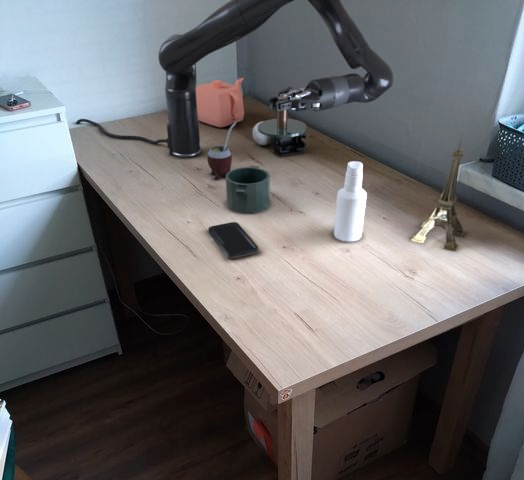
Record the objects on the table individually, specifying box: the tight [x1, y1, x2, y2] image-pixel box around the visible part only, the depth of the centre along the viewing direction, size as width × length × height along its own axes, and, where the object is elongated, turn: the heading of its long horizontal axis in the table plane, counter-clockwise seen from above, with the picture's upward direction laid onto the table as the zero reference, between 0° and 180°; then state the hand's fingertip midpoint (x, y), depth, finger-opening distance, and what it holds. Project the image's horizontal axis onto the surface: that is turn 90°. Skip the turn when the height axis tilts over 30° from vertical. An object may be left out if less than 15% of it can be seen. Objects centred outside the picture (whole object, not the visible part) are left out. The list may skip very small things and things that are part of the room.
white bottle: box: [333, 160, 368, 243], centre depth 129 cm, size 7×7×18 cm
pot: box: [225, 165, 271, 215], centre depth 146 cm, size 11×17×8 cm
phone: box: [208, 221, 259, 260], centre depth 132 cm, size 8×1×15 cm
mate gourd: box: [207, 121, 238, 181], centre depth 158 cm, size 8×8×15 cm
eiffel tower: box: [410, 132, 467, 252], centre depth 126 cm, size 11×11×25 cm
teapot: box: [196, 77, 245, 128], centre depth 197 cm, size 20×19×14 cm
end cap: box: [270, 132, 307, 157], centre depth 175 cm, size 10×7×7 cm
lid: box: [258, 96, 308, 138], centre depth 139 cm, size 13×13×8 cm
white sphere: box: [250, 120, 271, 146], centre depth 181 cm, size 10×7×7 cm
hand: (272, 104), depth 136 cm, fingers closed on lid, 2 cm apart
